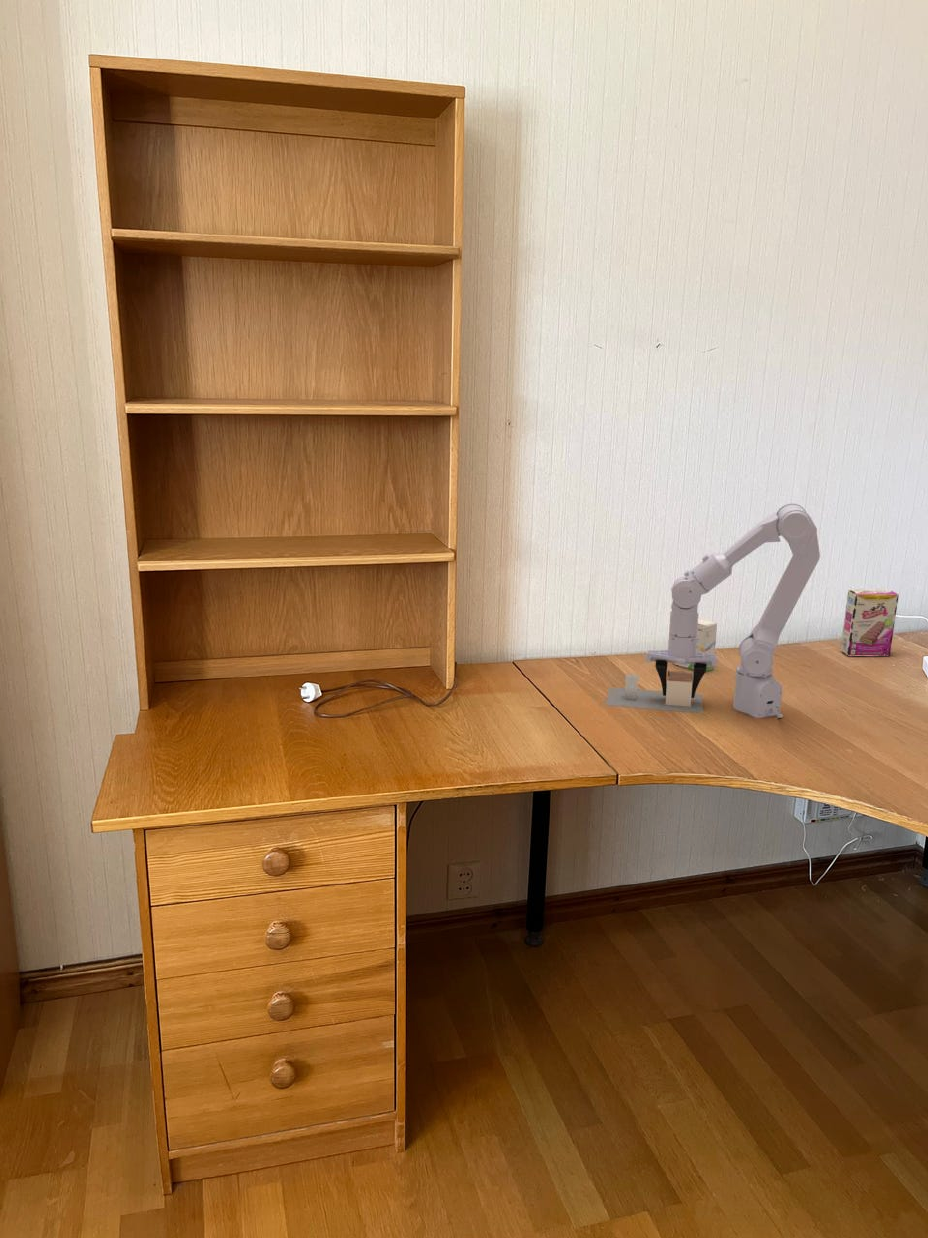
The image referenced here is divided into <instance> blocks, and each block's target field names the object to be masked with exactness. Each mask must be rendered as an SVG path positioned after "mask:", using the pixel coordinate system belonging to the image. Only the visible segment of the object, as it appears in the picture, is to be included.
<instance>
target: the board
mask: <svg viewBox="0 0 928 1238" xmlns="http://www.w3.org/2000/svg"><path fill="white" fill-rule="evenodd" d="M608 688H609V689H608V693H607V697H606V701H605V706H610V707H619V708H620V707H622V708H634V709H635V708H636V709H645V710H646V709H647V710H656V711H657V710H658V711H670V712H679V713H680V712H681V713H692V714H703V695H702V694H701V693H695V697H694V698H691V707H688V706H676V705H665V704H666V696H663V690H651V689H639V688H638V692H637V700H629V699H624V697H625V687H614V686H609V687H608Z"/></svg>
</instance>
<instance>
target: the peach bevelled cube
mask: <svg viewBox="0 0 928 1238" xmlns="http://www.w3.org/2000/svg"><path fill="white" fill-rule="evenodd" d="M693 672H694V671H693ZM693 672H692V671H684V670H683V671H681V670H670V669H667V689H666V704H665V705H676V706H688V707H691V695H692V683H693Z"/></svg>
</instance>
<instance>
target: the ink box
mask: <svg viewBox="0 0 928 1238" xmlns="http://www.w3.org/2000/svg"><path fill="white" fill-rule="evenodd" d="M717 627H718V623H717V622H713V621H711V620H706V619H701V618H699V617H698V626H697V640H696V652H697V653H702V654H708V655H716V642H717V641H716V640H717V630H718V628H717ZM677 665H678V667H681V668H685V669H688V670H692V671H694V664H686V663H674V666H677ZM714 668H715V667H713V666H711V665H706V672H705V673H707V672H710V671H713V670H714Z"/></svg>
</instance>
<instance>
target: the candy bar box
mask: <svg viewBox="0 0 928 1238" xmlns="http://www.w3.org/2000/svg"><path fill="white" fill-rule="evenodd" d="M899 595H900V594H899V593H897V592H894V590H890V589H848V590H847V598H846V604H845V611H844V620H843V621H844V622H843V629H842V636H841V642H840V649H841V650H842V651H844V652H845V653H846V654H847V655H884V654H885V655H890V656H891V650H892V644H893V643H892V642H893V636H894V631H895V622H896V617H897V616H896V615H897V610H898V603H899V598H900V597H899Z"/></svg>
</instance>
